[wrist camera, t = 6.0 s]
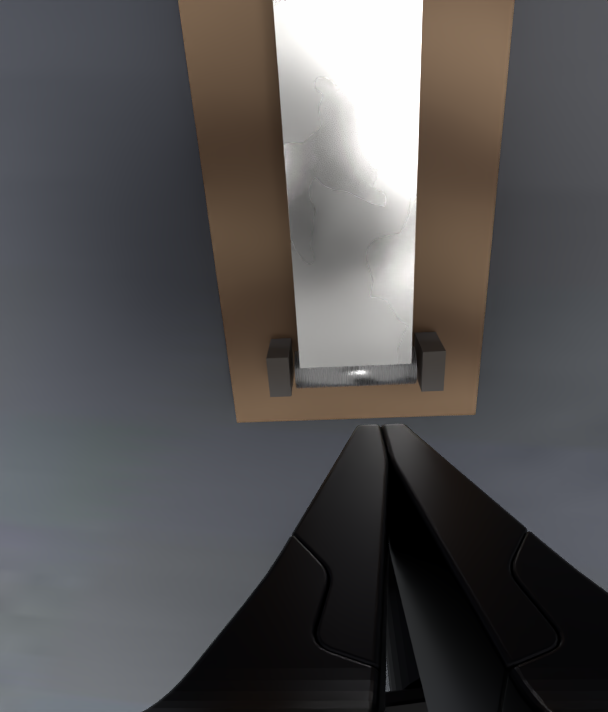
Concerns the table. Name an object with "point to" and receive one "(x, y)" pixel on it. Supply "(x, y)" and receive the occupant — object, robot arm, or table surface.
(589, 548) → the table surface
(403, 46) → the bar
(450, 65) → the walnut board
